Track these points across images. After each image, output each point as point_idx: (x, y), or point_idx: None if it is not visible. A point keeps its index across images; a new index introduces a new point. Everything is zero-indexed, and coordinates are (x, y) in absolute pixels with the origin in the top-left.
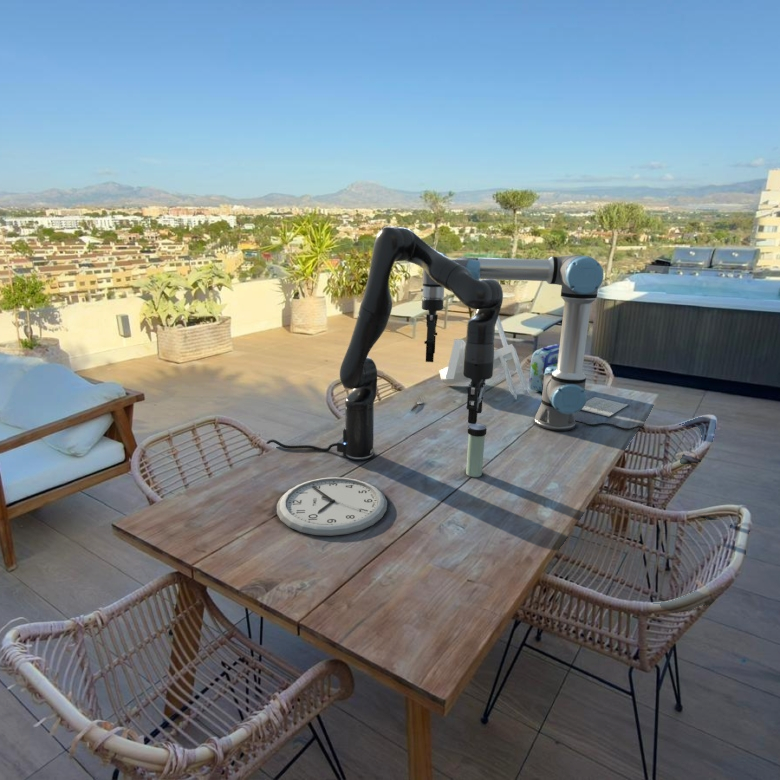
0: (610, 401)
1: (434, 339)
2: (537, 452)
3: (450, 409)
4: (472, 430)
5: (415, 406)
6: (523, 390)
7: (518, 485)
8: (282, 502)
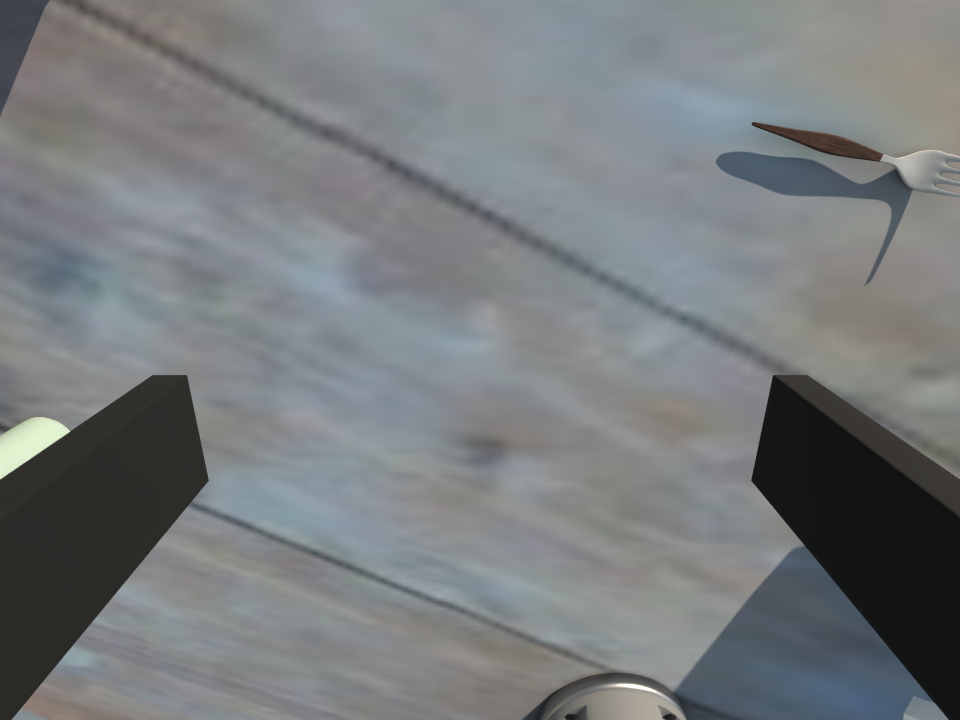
0: None
1: (922, 665)
2: (319, 647)
3: (796, 353)
4: None
5: (828, 147)
6: (906, 717)
7: None
8: None
